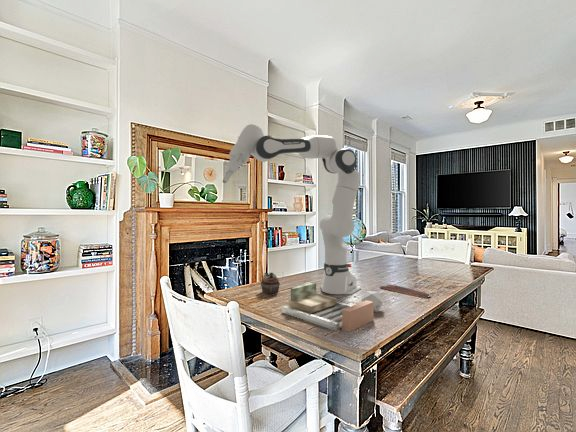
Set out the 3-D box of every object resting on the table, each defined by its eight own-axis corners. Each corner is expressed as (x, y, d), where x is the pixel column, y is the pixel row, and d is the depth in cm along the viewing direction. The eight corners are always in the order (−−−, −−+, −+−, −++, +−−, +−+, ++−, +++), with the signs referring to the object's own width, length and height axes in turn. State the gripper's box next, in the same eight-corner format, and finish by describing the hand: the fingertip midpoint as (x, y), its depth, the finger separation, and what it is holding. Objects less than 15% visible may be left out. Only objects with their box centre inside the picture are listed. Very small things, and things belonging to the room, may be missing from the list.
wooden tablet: (437, 293, 154) (427, 294, 148) (436, 298, 154) (426, 299, 147) (389, 283, 174) (378, 284, 168) (388, 287, 174) (378, 288, 168)
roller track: (316, 301, 143) (316, 296, 143) (369, 316, 124) (369, 310, 124) (282, 312, 128) (282, 306, 128) (336, 331, 109) (336, 324, 109)
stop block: (366, 318, 122) (366, 300, 122) (373, 320, 120) (373, 301, 119) (342, 329, 110) (342, 309, 110) (349, 331, 108) (349, 311, 108)
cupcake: (283, 293, 156) (283, 273, 156) (264, 296, 152) (264, 275, 151) (275, 289, 164) (275, 270, 164) (257, 291, 160) (257, 271, 160)
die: (373, 317, 125) (387, 297, 126) (355, 303, 129) (369, 284, 130) (375, 318, 132) (388, 299, 133) (357, 305, 136) (370, 286, 137)
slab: (314, 298, 140) (314, 282, 140) (336, 304, 132) (336, 286, 132) (288, 306, 129) (289, 288, 129) (311, 313, 120) (311, 294, 120)
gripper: (248, 156, 137) (233, 183, 135) (242, 162, 156) (228, 186, 155) (235, 148, 135) (220, 176, 134) (230, 155, 155) (217, 180, 153)
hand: (224, 181), depth 144 cm, fingers open, 8 cm apart
